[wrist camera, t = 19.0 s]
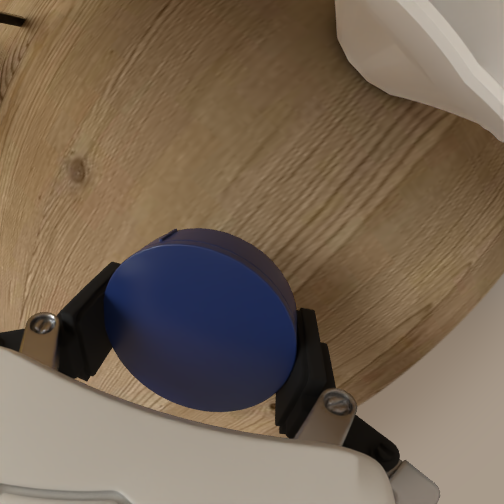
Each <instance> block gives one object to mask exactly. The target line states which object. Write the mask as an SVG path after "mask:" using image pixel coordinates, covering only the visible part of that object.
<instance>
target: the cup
mask: <svg viewBox="0 0 504 504" xmlns="http://www.w3.org/2000/svg"><path fill="white" fill-rule="evenodd" d="M335 10H336V27H337V39H338V41H339V43H340V45H341V47H342V49H343V51H344V53H345V55H346V57H347V59H348V61H349V62H350V63H351V64H352V65H353V67H354V68H355V69H356V70H357V71H358V72H359V73H360V74H361V75H362V76H363V77H364V78H365V80H366V81H367V82H369V83H371V84H373V85H374V86H376V87H378V88H380V89H381V90H383V91H385V92H386V93H388V94H390V95H393V96H397V97H402V98H406V99H409V100H413V101H416V102H420V103H423V104H426V105H429V106H432V107H435V108H438V109H441V110H444V111H447V112H450V113H452V114H455V115H458V116H460V117H463V118H465V119H468V120H470V121H473V122H475V123H478V124H479V125H480V126H481V127H483V128H484V129H486V130H488V131H490V132H491V133H492V134H493V135H494V136H495V137H496V138H497V139H498V140H499V141H501V142H504V0H335Z"/></svg>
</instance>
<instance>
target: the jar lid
mask: <svg viewBox="0 0 504 504" xmlns="http://www.w3.org/2000/svg"><path fill="white" fill-rule="evenodd" d="M104 321H105V329H106V332H107V335H108V338H109V340H110V343H111V345H112V347H113V349H114V351H115V352H116V354H117V356H118V357H119V359H120V360H121V362H122V363H123V364H124V366H125V367H126V368H127V369H128V370H129V371H130V373H131V374H132V375H133V376H134V377H135V378H137V379H138V380H139V381H140V382H141V383H142V384H143V385H145V386H146V387H147V388H149V389H150V390H152V391H153V392H155V393H156V394H158V395H160V396H161V397H163V398H165V399H167V400H169V401H172V402H174V403H176V404H179V405H182V406H185V407H188V408H192V409H196V410H202V411H209V412H229V411H237V410H242V409H246V408H249V407H252V406H255V405H257V404H259V403H261V402H263V401H265V400H266V399H268V398H270V397H271V396H272V395H273V394H275V393H276V392H277V391H278V390H279V389H280V388H281V387H282V386H283V385H284V383H285V382H286V380H287V379H288V377H289V376H290V374H291V371H292V369H293V367H294V364H295V359H296V355H297V312H296V304H295V300H294V297H293V293H292V291H291V289H290V286H289V284H288V282H287V280H286V279H285V277H284V276H283V274H282V272H281V271H280V270H279V269H278V267H277V266H276V265H275V264H274V263H273V261H272V260H271V259H269V258H268V257H267V256H266V255H265V254H264V253H263V252H262V251H260V250H259V249H257V248H256V247H255V246H253V245H252V244H250V243H248V242H246V241H244V240H243V239H241V238H239V237H236V236H233V235H231V234H228V233H225V232H221V231H217V230H211V229H202V228H196V229H184V230H178V231H177V229H174V230H172V231H171V232H169V233H168V234H165V235H163V236H161V237H159V238H157V239H156V240H154V241H153V242H151V243H150V244H148V245H147V246H145V247H144V248H142V249H141V250H139V251H138V252H136V253H135V254H133V255H132V256H130V257H129V258H128V259H126V260H125V261H124V262H123V263H122V264H121V265H120V266H119V267H118V268H117V269H116V270H115V272H114V274H113V275H112V277H111V278H110V280H109V283H108V285H107V288H106V291H105V295H104Z"/></svg>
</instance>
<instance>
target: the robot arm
mask: <svg viewBox="0 0 504 504" xmlns="http://www.w3.org/2000/svg"><path fill="white" fill-rule="evenodd" d="M120 265H121V264H119V263H115V262H111V263H110V264H109V265H108V266H107V267H105V268H104V269H103V270H102V271H101V272H100V273H99V274H98V275H97V276H96V277H95V278H94V279H93V280H92V281H91V282H89V283H88V284H87V285H86V286H85V287H84V288H83V289H82V290H81V291H80V292H79V293H78V294H77V295H76V296H75V297H74V298H73V299H72V300H71V301H70V302H69V303H68V304H67V305H66V306H65V307H64V308H63V309H62V310H61V311H60V313H59V314H58V315H57V316H55V315H54V314H52V313H48V312H40V313H37V314H35V315H33V316H31V317H30V318H29V319H28V321H27V323H26V327H25V329H20V330H14V331H8V332H2V333H0V504H437V502H438V500H439V498H440V490H439V488H438V486H437V485H436V484H435V483H433V481H431V480H430V479H429V478H428V477H426V476H425V475H424V474H422V473H421V472H420V471H419V470H417V469H416V468H415V467H414V466H413V465H411V464H410V463H409V462H408V461H406V460H404V461H401V460H400V459H399V458H400V454H399V450H398V449H397V447H396V445H394V444H393V443H392V442H391V441H390V440H388V439H387V438H386V437H384V436H383V435H382V434H380V433H379V432H377V431H376V430H375V429H374V428H372V427H371V426H370V425H368V424H367V423H366V422H364V421H363V420H362V419H360V418H359V417H358V416H357V415H355V414H356V412H357V403H356V401H355V399H354V397H353V396H352V395H351V394H350V393H348V392H346V391H345V390H342V389H339V388H336V387H335V381H334V376H333V371H332V365H331V360H330V355H329V350H328V346H327V344H326V343H321V342H320V337H319V332H318V326H317V321H316V316H315V311H314V310H310V309H305V308H300V310H299V311H298V310H296V312H297V355H296V359H295V364H294V367H293V369H292V371H291V374H290V376H289V377H288V379H287V380H286V382H285V383H284V385H283V386H282V387H281V388H280V389H279V390H278V391H277V392H276V409H275V425H276V426H279V434H286V436H287V437H288V438H281V437H274V436H267V435H261V434H254V433H248V432H242V431H237V430H232V429H227V428H222V427H217V426H212V425H208V424H204V423H200V422H196V421H192V420H188V419H184V418H180V417H177V416H173V415H169V414H166V413H163V412H159V411H156V410H153V409H150V408H147V407H144V406H141V405H138V404H135V403H132V402H129V401H126V400H124V399H121V398H118V397H116V396H113V395H110V394H108V393H105V392H103V391H100V390H98V389H96V388H93V387H91V386H88V385H86V384H84V383H82V382H79V381H77V380H75V378H77V377H78V378H80V379H83V380H85V381H88V379H89V378H90V376H94V375H95V374H96V372H97V371H98V369H99V368H100V366H101V364H102V363H103V361H104V360H105V358H106V357H107V355H108V353H109V352H110V350H111V349H112V345H111V343H110V340H109V338H108V335H107V332H106V329H105V321H104V295H105V291H106V288H107V285H108V283H109V280H110V278H111V277H112V275H113V274H114V272H115V270H116V269H117V268H118V267H119V266H120Z"/></svg>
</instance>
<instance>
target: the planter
mask: <svg viewBox="0 0 504 504" xmlns="http://www.w3.org/2000/svg"><path fill="white" fill-rule="evenodd" d="M24 21H25V18H24V17H21V16H17V15H13V14H9V13H5V12H0V23H4V24H9V25H14V26H19V27H21V26H22V24H23V23H24Z"/></svg>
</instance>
